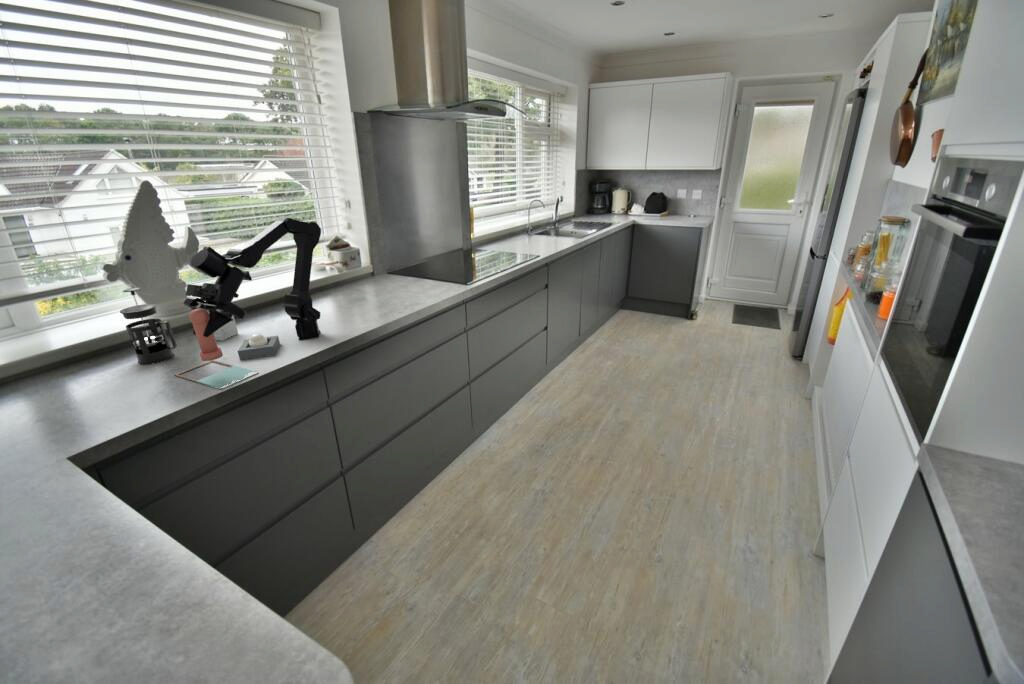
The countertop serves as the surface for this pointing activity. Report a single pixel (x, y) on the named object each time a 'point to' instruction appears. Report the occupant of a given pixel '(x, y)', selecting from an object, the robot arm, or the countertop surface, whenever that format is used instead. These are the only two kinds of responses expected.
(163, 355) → the french press
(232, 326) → the supplement box
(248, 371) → the tile
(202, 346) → the pawn
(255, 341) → the cream white ball
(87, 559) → the countertop surface
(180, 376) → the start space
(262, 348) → the box
